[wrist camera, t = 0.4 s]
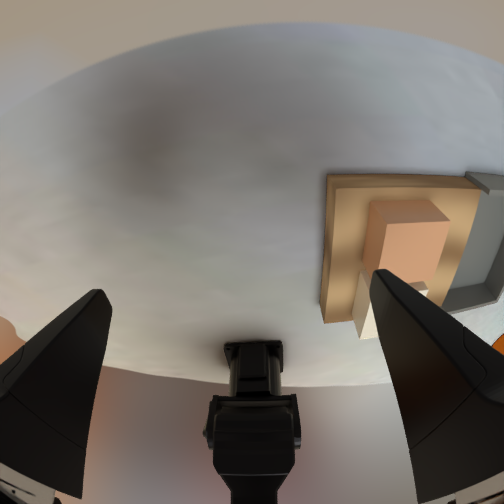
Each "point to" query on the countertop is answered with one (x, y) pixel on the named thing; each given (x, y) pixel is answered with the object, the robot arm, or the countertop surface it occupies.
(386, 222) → the tan cardboard box
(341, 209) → the oak board
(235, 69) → the countertop surface
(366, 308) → the cream rectangular block
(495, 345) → the spray bottle
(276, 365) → the robot arm
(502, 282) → the tray
